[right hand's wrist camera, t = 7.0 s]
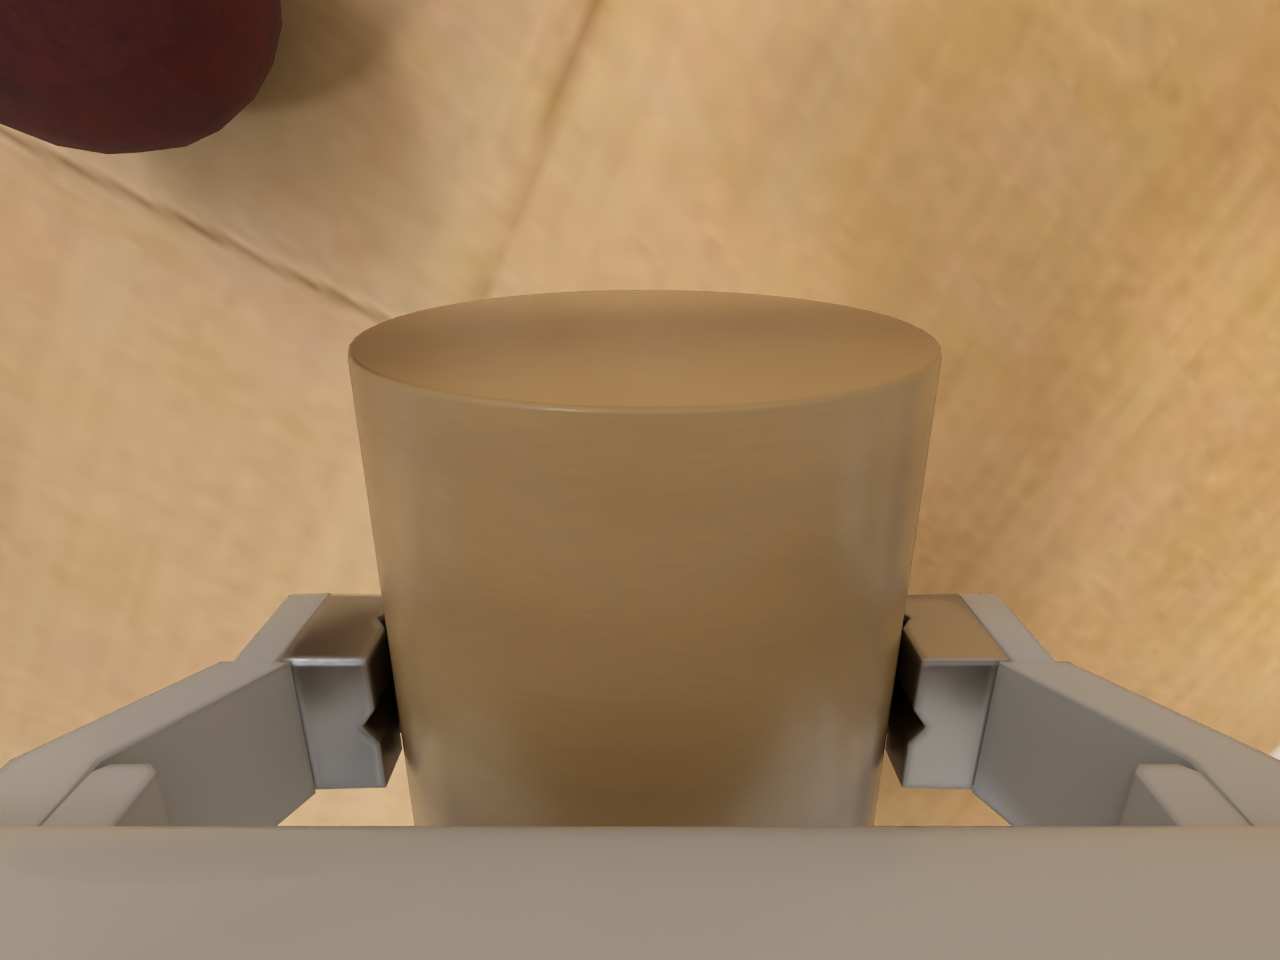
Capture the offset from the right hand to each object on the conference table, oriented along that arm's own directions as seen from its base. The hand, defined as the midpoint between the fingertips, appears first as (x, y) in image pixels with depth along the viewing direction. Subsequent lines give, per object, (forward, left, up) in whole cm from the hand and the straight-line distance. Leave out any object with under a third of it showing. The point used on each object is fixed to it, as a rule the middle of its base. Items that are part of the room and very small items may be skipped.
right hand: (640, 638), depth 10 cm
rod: (+8, 0, -3) cm, 8 cm away
